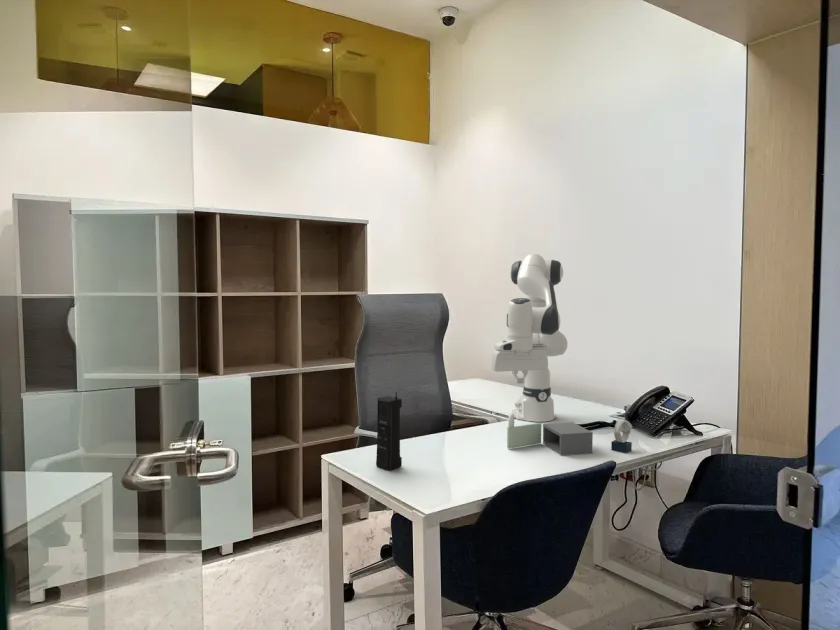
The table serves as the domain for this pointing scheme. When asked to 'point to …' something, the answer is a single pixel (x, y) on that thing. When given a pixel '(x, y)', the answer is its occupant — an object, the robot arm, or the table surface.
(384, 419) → the portable radio
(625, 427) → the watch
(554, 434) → the case
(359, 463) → the table surface
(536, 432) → the side door
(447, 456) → the table surface
